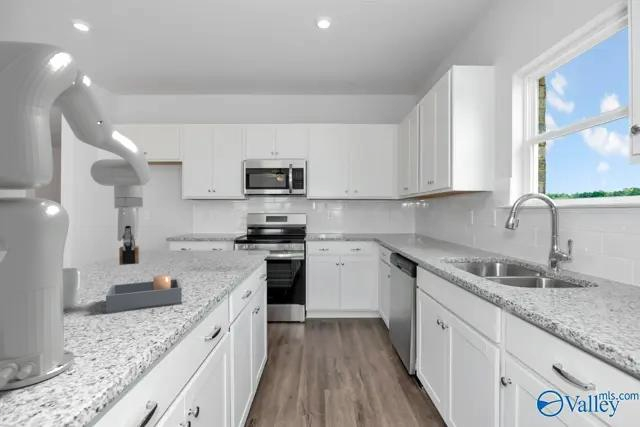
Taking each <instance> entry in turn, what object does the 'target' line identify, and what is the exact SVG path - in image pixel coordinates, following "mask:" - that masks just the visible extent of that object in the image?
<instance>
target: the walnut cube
mask: <svg viewBox="0 0 640 427" xmlns="http://www.w3.org/2000/svg"><path fill="white" fill-rule="evenodd" d="M134 250H135V263H134V264H133V265H137V264H140V245H135V246H134ZM122 251H123V246H119V248H118V253H119V255H118V256H119V266H124V265H125V266H126V265H128V264H123V252H122Z"/></svg>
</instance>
